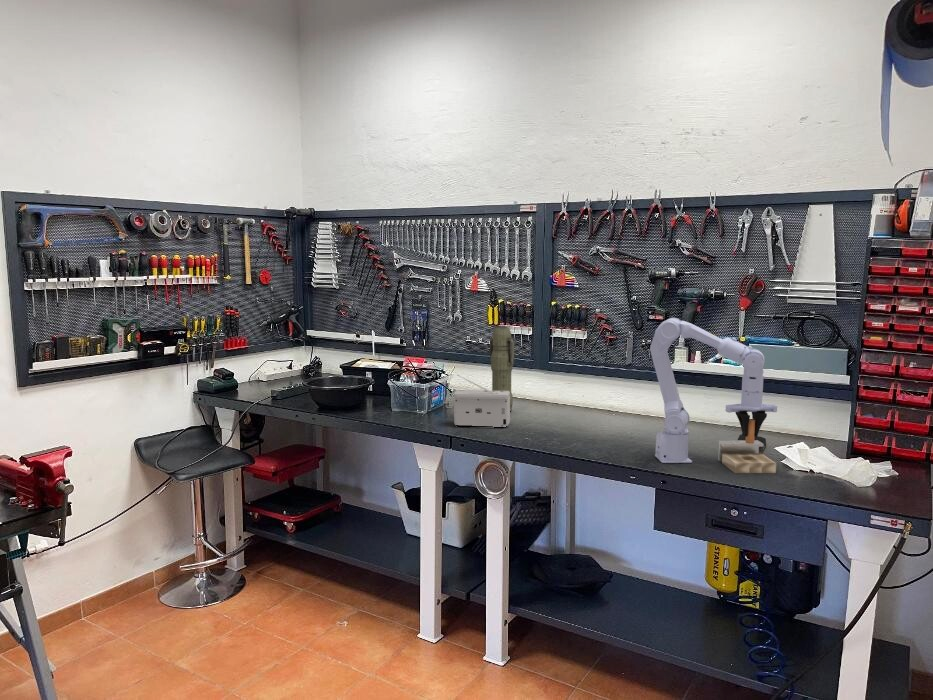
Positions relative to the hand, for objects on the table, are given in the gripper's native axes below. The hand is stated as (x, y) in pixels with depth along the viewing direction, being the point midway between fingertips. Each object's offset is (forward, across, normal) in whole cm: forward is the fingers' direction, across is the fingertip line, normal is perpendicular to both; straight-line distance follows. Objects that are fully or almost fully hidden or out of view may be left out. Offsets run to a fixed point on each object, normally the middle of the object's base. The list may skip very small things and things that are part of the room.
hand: (749, 435), depth 205 cm
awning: (+10, 0, +6) cm, 12 cm away
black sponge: (+10, +8, +19) cm, 23 cm away
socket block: (+10, 0, 0) cm, 10 cm away
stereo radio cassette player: (+10, -78, +54) cm, 95 cm away
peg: (+2, 0, 0) cm, 2 cm away
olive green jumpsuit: (+10, -69, +79) cm, 105 cm away
